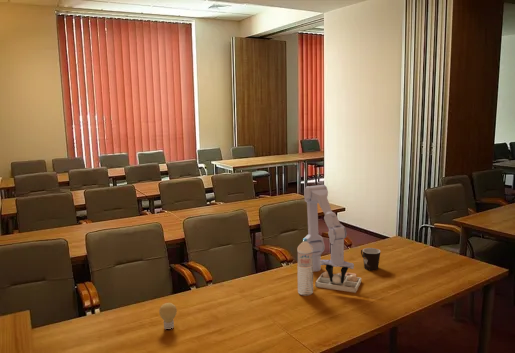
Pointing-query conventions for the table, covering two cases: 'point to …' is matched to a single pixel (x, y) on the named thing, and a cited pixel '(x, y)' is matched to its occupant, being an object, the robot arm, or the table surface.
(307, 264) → the water bottle
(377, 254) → the coffee mug
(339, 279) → the white rounded ball
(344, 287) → the carton
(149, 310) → the table surface
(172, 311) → the light bulb
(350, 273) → the egg cup
